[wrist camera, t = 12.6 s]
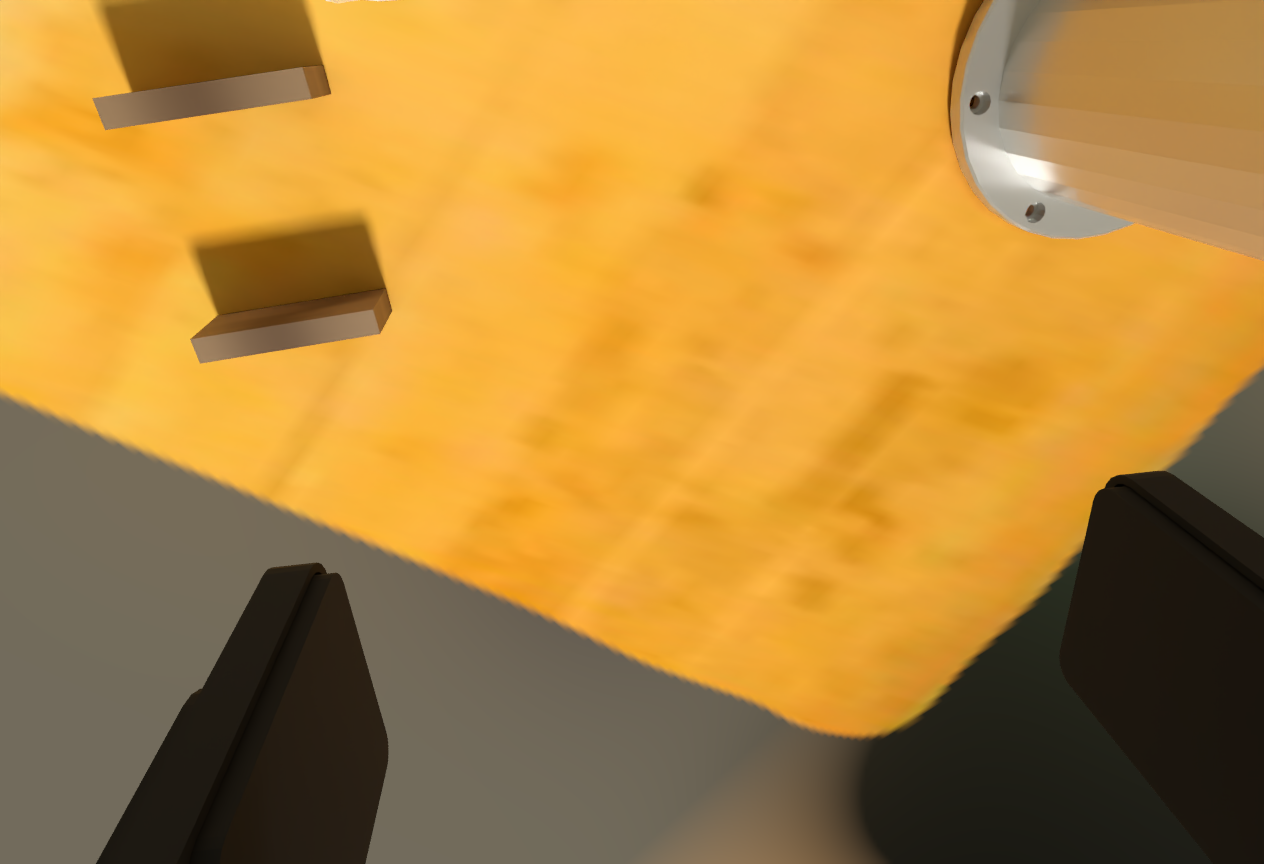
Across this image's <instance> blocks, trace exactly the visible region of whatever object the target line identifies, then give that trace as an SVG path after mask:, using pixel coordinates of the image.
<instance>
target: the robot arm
mask: <svg viewBox="0 0 1264 864" xmlns="http://www.w3.org/2000/svg"><path fill="white" fill-rule="evenodd" d="M972 97H974V104H973V105H972V106H971V107H970V106H969V104H970V101H971V98H972ZM950 118H951V129H952V140H953V145H954V148H955V152H956V155H957V159H958V162H959V166H960V169H961V171H962V173H963V174H964V176H965V178H966V180H967V182H968V184H969V186H970V187H971V189H972V191H973V192H974V194H975V195H976V196H977V197H978V198H979V199H980V200H981V202H982V203H983V204H984V205H985V206H986V207H987V208H988V209H989V210H990V211H991V212H993V213H994V214H996V215H997V216H998V217H1000V218H1001V219H1003V220H1004V221H1006V222H1007V223H1008V224H1011V225H1013V226H1016V227H1018V228H1021V229H1023V230H1025V231H1028V232H1031V233H1034V234H1038V235H1042V236H1046V237H1050V238H1059V239H1082V238H1088V237H1094V236H1100V235H1105V234H1108V233H1111V232H1114V231H1116V230H1119V229H1122V228H1125V227H1128V226H1131V225H1132V224H1134V223H1137V224H1140V225H1143V226H1147V227H1150V228H1153V229H1157V230H1160V231H1164V232H1167V233H1170V234H1174V235H1177V236H1181V237H1184V238H1187V239H1191V240H1194V241H1198V242H1201V243H1204V244H1208V245H1211V246H1215V247H1218V248H1221V249H1225V250H1228V251H1232V252H1235V253H1238V254H1242V255H1245V256H1248V257H1252V258H1255V259H1259V260H1262V261H1264V0H984V1H983V3H982V4H981V6H980V8H979V9H978V11H977V13H976V14H975V16H974V18H973V21H972V23H971V26H970V28H969V30H968V33H967V35H966V37H965V40H964V42H963V44H962V47H961V50H960V54H959V58H958V62H957V66H956V70H955V74H954V78H953V84H952V96H951V107H950ZM1027 208H1028V210H1027ZM1026 211H1027V212H1026ZM1059 659H1060V666H1061V669H1062V673H1063V675H1064V677H1065V679H1066V681H1067V682H1068V684H1069V685H1070V686H1071V687H1072V688H1073V690H1074V691H1075V692H1076V694H1077V695H1078V696H1079V697H1080V699H1081V700H1082V701H1083V702H1084V704H1085V705H1086V706H1087V707H1088V709H1089V710H1090V711H1091V712H1092V714H1093V715H1094V716H1095V717H1096V719H1097V720H1098V721H1099V722H1100V724H1101V725H1102V726H1103V727H1104V729H1105V730H1106V731H1107V732H1108V734H1109V735H1110V736H1111V737H1112V739H1113V740H1114V741H1115V742H1116V744H1117V745H1118V746H1119V747H1120V748H1121V750H1122V751H1123V752H1124V753H1125V755H1126V756H1127V757H1128V758H1129V760H1130V761H1131V762H1132V763H1133V765H1134V766H1135V767H1136V768H1137V770H1138V771H1139V772H1140V773H1141V775H1142V776H1143V777H1144V778H1145V780H1146V781H1147V782H1148V783H1149V785H1150V786H1151V787H1152V788H1153V790H1154V791H1155V792H1156V793H1157V795H1158V796H1159V797H1160V798H1161V800H1162V801H1163V802H1164V803H1165V804H1166V806H1167V807H1168V808H1169V809H1170V811H1171V812H1172V813H1173V814H1174V816H1175V817H1176V818H1177V819H1178V820H1179V822H1180V823H1181V824H1182V826H1183V827H1184V828H1185V829H1186V830H1187V832H1188V833H1189V834H1190V836H1191V837H1192V838H1193V839H1194V840H1195V842H1196V843H1197V844H1198V846H1199V847H1200V848H1201V849H1202V851H1203V852H1204V853H1205V854H1206V856H1207V857H1208V858H1209V859H1210V860H1211V862H1212V863H1213V864H1264V538H1263V537H1262V536H1260V535H1259V534H1257V533H1256V532H1254V531H1253V530H1252V529H1250V528H1249V527H1247V526H1246V525H1244V524H1243V523H1242V522H1240V521H1239V520H1237V519H1236V518H1234V517H1233V516H1232V515H1230V514H1229V513H1227V512H1226V511H1224V510H1223V509H1222V508H1220V507H1219V506H1217V505H1216V504H1214V503H1213V502H1211V501H1210V500H1209V499H1207V498H1205V497H1204V496H1203V495H1201V494H1200V493H1199V492H1197V491H1196V490H1194V489H1193V488H1191V487H1190V486H1189V485H1187V484H1185V483H1184V482H1183V481H1181V480H1180V479H1178V478H1177V477H1176V476H1174V475H1173V474H1170V473H1168V472H1166V471H1153V472H1144V473H1134V474H1125V475H1117V476H1115V477H1113V478H1111V479H1110V480H1109V481H1108V483H1107V484H1106V486H1105V488H1104V489H1101V490H1099V491H1098V492H1097V494H1096V495H1095V498H1094V500H1093V505H1092V509H1091V514H1090V518H1089V523H1088V527H1087V532H1086V536H1085V541H1084V545H1083V549H1082V554H1081V559H1080V563H1079V567H1078V572H1077V576H1076V581H1075V585H1074V590H1073V594H1072V599H1071V603H1070V608H1069V613H1068V617H1067V621H1066V626H1065V630H1064V635H1063V639H1062V644H1061V649H1060V655H1059ZM387 764H388V738H387V734H386V730H385V726H384V723H383V719H382V716H381V712H380V709H379V705H378V702H377V699H376V695H375V691H374V688H373V684H372V681H371V677H370V674H369V670H368V667H367V663H366V660H365V656H364V653H363V649H362V646H361V642H360V639H359V635H358V632H357V628H356V625H355V621H354V618H353V614H352V611H351V607H350V604H349V600H348V597H347V593H346V590H345V586H344V583H343V580H342V578H341V576H340V575H339V574H338V573H330V574H327V573H326V570H325V568H324V567H323V566H322V564H320V563H309V564H301V565H291V566H283V567H273V568H270V569H268V570H267V571H266V572H265V573H264V575H263V577H262V578H261V580H260V582H259V584H258V586H257V588H256V590H255V592H254V594H253V595H252V597H251V599H250V601H249V603H248V605H247V606H246V608H245V610H244V612H243V614H242V616H241V618H240V619H239V621H238V623H237V625H236V627H235V629H234V631H233V632H232V634H231V636H230V638H229V640H228V642H227V644H226V645H225V647H224V649H223V651H222V653H221V655H220V657H219V659H218V661H217V662H216V664H215V666H214V668H213V670H212V672H211V674H210V676H209V677H208V679H207V681H206V683H205V685H204V687H203V688H202V689H199V690H198V691H197V692H195V693H193V694H192V695H191V696H190V697H189V699H188V700H187V701H186V703H185V704H184V705H183V707H182V709H181V711H180V712H179V714H178V716H177V718H176V720H175V721H174V723H173V725H172V727H171V729H170V731H169V732H168V734H167V736H166V738H165V740H164V741H163V743H162V745H161V747H160V749H159V750H158V752H157V754H156V756H155V758H154V760H153V761H152V763H151V765H150V767H149V769H148V770H147V772H146V774H145V776H144V778H143V780H142V781H141V783H140V785H139V787H138V789H137V791H136V792H135V794H134V796H133V798H132V800H131V801H130V803H129V805H128V807H127V808H126V810H125V812H124V814H123V816H122V818H121V819H120V821H119V823H118V825H117V827H116V829H115V830H114V832H113V834H112V836H111V837H110V839H109V841H108V843H107V845H106V847H105V848H104V850H103V852H102V854H101V856H100V858H99V860H98V861H97V863H96V864H365V863H366V858H367V853H368V849H369V845H370V840H371V836H372V831H373V827H374V823H375V818H376V813H377V809H378V805H379V800H380V796H381V792H382V787H383V783H384V778H385V773H386V769H387Z"/></svg>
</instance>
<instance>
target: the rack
mask: <svg viewBox="0 0 1264 864" xmlns="http://www.w3.org/2000/svg"><path fill="white" fill-rule="evenodd" d="M329 94H331V92H330V88H329V85H328V81H327V78H326V74H325V71H324V67H323V65H319V66H308V67H300V68H293V69H286V70H279V71H273V72H266V73H259V74H253V75H246V76H239V77H233V78H226V79H219V80H213V81H206V82H199V83H193V84H186V85H179V86H172V87H166V88H159V89H152V90H146V91H139V92H132V93H126V94H119V95H112V96H106V97H99V98H92V99H93V101H94V103H95V106H96V108H97V111H98V113H99V116H100V118H101V121H102V123H103V126H104V128H105V130H108V129H115V128H122V127H128V126H135V125H141V124H148V123H155V122H161V121H168V120H175V119H181V118H188V117H194V116H201V115H208V114H214V113H221V112H227V111H234V110H241V109H247V108H254V107H260V106H267V105H274V104H280V103H287V102H294V101H300V100H307V99H313V98H317V97H321V96H325V95H329ZM391 312H392V309H391V306H390V302H389V299H388V295H387V291H386V288H385V289H378V290H372V291H366V292H360V293H354V294H348V295H341V296H335V297H329V298H323V299H317V300H311V301H304V302H298V303H292V304H286V305H280V306H274V307H268V308H261V309H255V310H249V311H243V312H237V313H231V314H224V315H218V316H217V317H216V318H214V319H213V320H212V321H211V322H210V323H209V324H208V325H206V326H205V327H204V328H203V329H202V330H201V331H199V332H198V333H197V334H196V335H195V336H194V337H192V338H191V339H190V340H191V342H192V345H193V347H194V350H195V352H196V354H197V357H198V359H199V362H200V363H206V362H212V361H218V360H224V359H230V358H236V357H242V356H249V355H255V354H261V353H267V352H273V351H279V350H285V349H291V348H297V347H303V346H309V345H315V344H321V343H328V342H334V341H340V340H346V339H352V338H358V337H364V336H370V335H376V334H380V333H381V331H382V329H383V327H384V325H385V324H386V322H387V320H388V318H389V316H390V314H391Z"/></svg>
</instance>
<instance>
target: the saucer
mask: <svg viewBox="0 0 1264 864" xmlns="http://www.w3.org/2000/svg"><path fill="white" fill-rule="evenodd" d="M326 1H329V2H334V3H343V2H350V1H356V0H326ZM368 1H395V0H368Z"/></svg>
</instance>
